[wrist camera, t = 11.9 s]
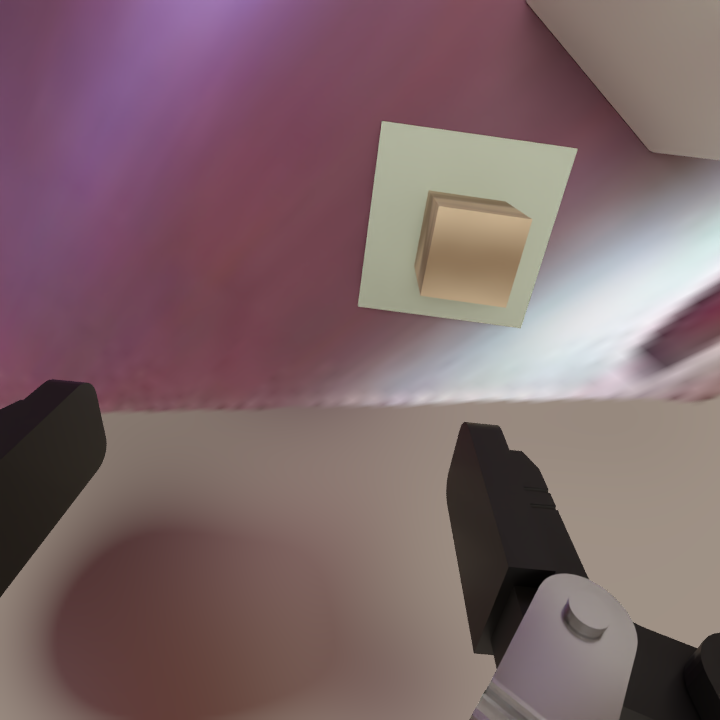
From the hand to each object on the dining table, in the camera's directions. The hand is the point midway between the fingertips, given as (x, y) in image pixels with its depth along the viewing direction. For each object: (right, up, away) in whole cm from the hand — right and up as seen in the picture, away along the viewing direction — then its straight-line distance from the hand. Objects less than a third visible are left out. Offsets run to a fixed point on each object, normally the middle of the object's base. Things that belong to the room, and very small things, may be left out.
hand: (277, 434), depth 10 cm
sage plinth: (+9, +12, +24) cm, 28 cm away
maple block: (+8, +10, +20) cm, 24 cm away
